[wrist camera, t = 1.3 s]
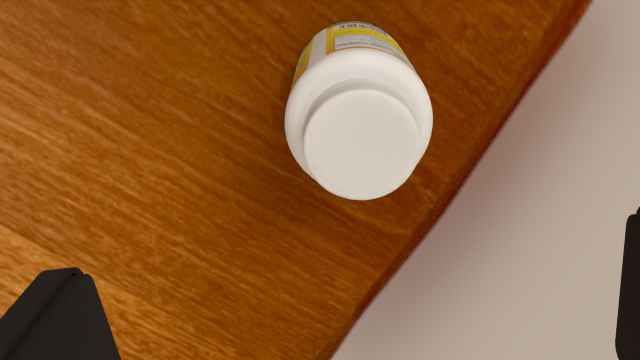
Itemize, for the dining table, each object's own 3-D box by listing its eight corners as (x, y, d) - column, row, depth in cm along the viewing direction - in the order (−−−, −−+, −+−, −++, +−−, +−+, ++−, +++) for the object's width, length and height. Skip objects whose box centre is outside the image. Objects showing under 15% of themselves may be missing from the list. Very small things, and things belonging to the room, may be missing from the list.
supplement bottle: (329, 147, 29) (326, 246, 20) (275, 53, 27) (245, 115, 18) (426, 98, 28) (471, 180, 19) (377, -4, 26) (401, 31, 17)
